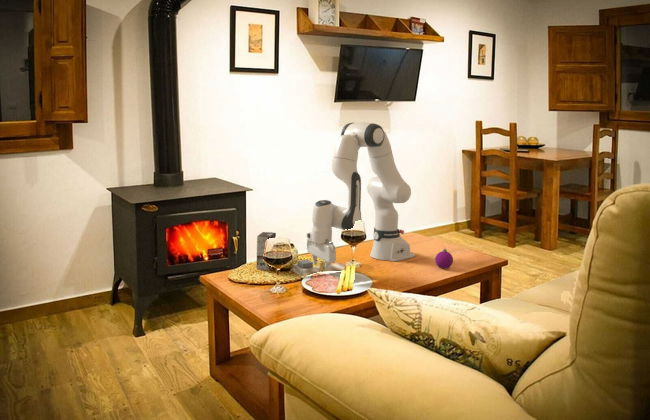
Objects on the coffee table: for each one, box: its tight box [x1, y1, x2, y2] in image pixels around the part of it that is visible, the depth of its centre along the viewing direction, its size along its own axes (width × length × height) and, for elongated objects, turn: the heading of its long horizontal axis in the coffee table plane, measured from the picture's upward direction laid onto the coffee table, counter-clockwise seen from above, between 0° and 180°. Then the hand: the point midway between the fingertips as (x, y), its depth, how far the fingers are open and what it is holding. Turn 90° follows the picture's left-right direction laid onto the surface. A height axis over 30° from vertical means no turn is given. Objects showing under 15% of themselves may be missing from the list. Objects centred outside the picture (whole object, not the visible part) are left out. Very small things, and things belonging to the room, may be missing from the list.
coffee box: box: [256, 231, 277, 271], centre depth 271 cm, size 9×6×16 cm
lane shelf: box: [289, 262, 346, 279], centre depth 270 cm, size 26×13×4 cm, turn 120°
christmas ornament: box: [434, 247, 454, 269], centre depth 283 cm, size 8×8×10 cm
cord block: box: [296, 259, 326, 271], centre depth 267 cm, size 12×5×5 cm, turn 120°
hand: (320, 267), depth 270 cm, fingers open, 8 cm apart
